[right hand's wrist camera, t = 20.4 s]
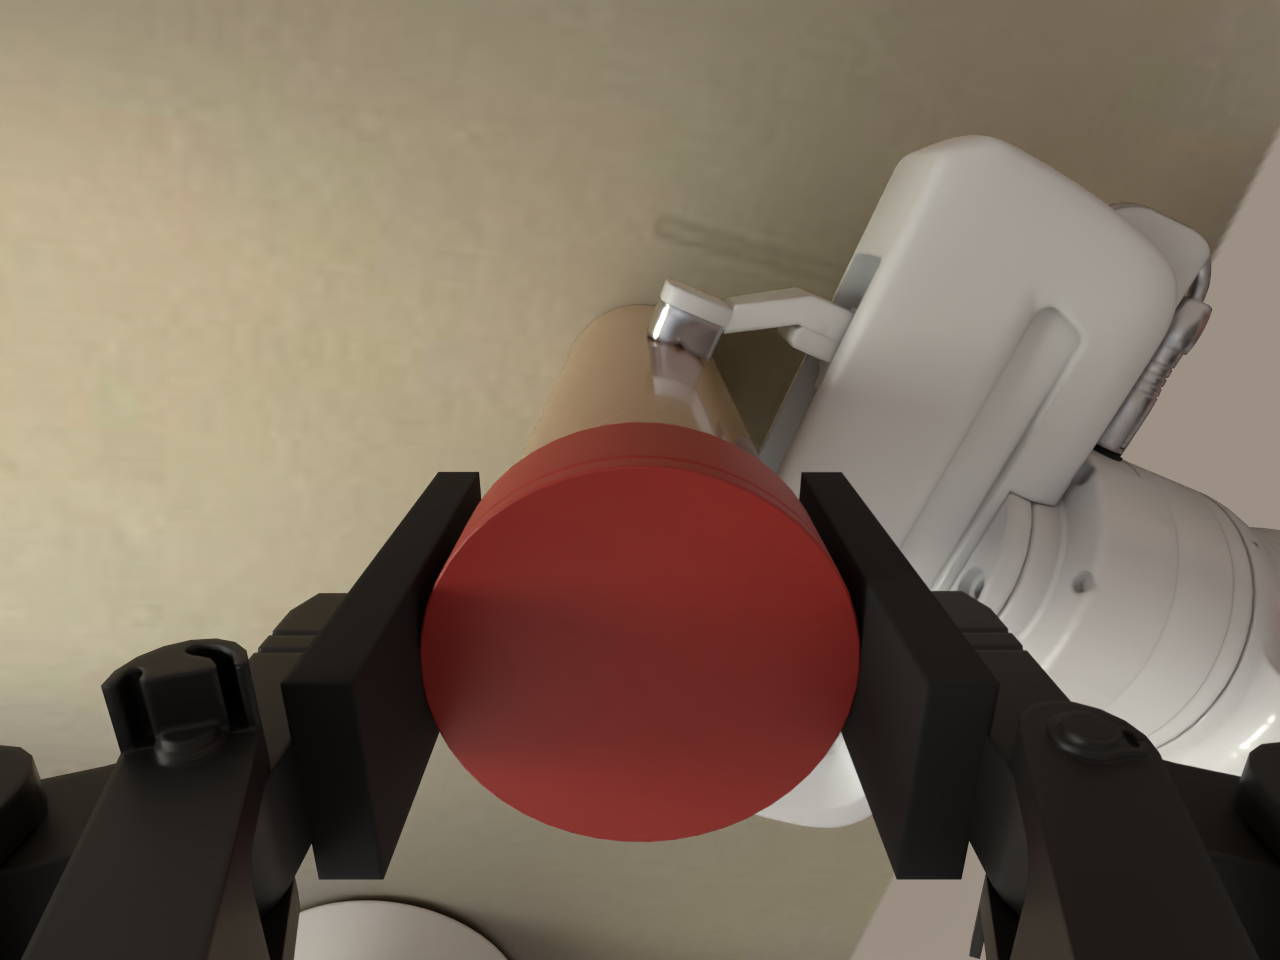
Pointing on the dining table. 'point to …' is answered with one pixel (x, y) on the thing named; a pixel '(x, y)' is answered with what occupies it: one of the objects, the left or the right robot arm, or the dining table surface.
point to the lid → (640, 636)
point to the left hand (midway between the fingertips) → (610, 420)
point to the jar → (636, 385)
